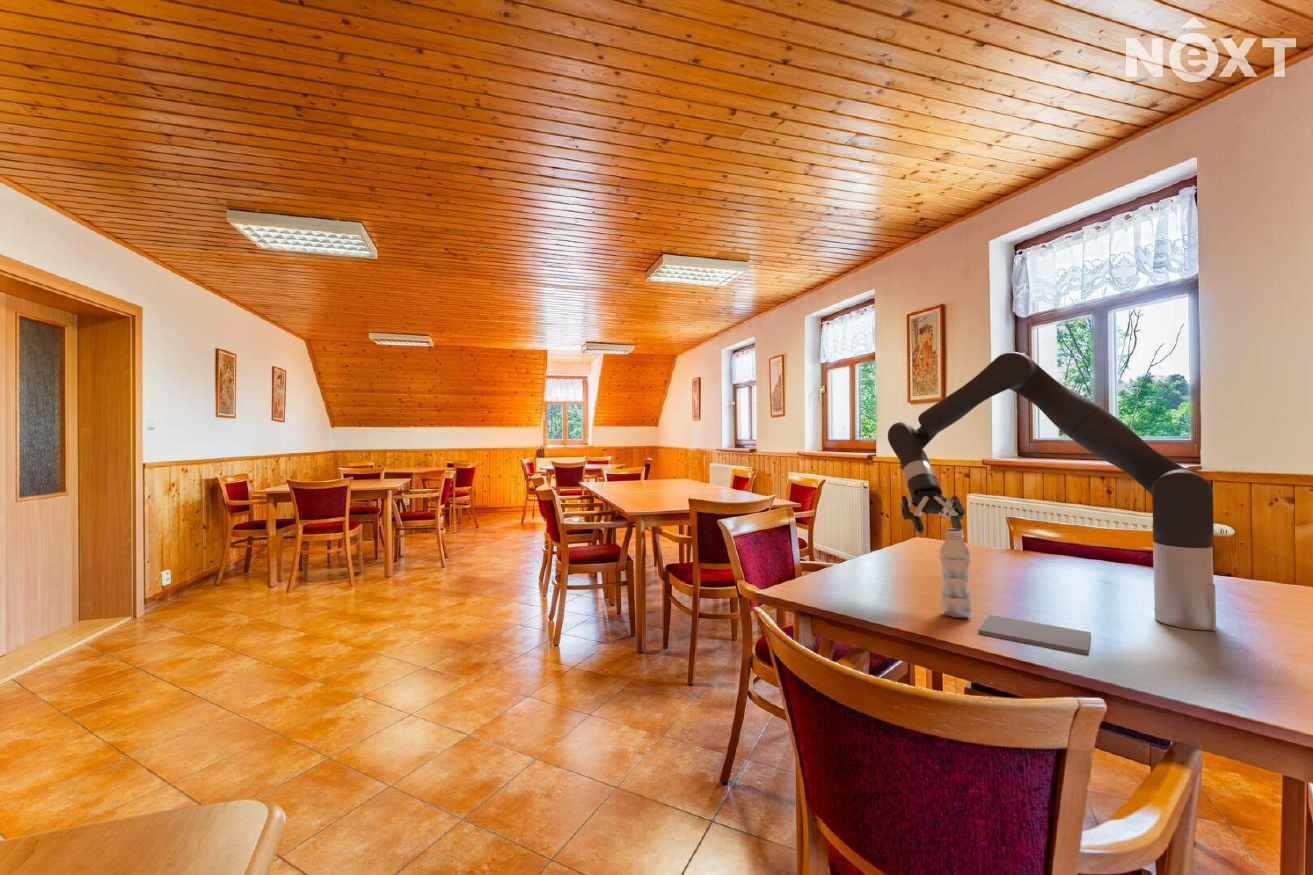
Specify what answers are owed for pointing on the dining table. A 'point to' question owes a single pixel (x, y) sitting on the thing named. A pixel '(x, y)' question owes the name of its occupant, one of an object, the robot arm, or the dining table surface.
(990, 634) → the grey rubber mat
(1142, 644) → the dining table surface
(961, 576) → the plastic bottle
